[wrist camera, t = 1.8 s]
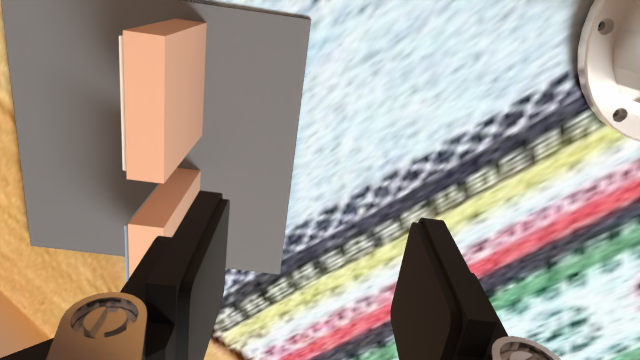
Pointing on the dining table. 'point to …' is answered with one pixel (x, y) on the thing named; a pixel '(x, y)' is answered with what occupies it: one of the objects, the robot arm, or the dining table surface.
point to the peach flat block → (159, 214)
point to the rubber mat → (105, 120)
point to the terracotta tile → (161, 96)
